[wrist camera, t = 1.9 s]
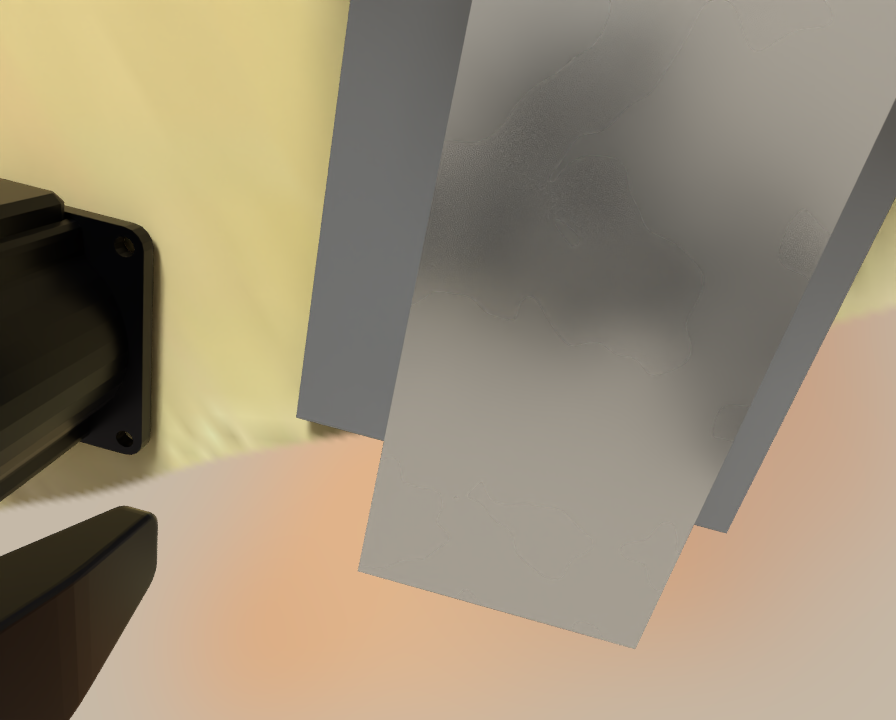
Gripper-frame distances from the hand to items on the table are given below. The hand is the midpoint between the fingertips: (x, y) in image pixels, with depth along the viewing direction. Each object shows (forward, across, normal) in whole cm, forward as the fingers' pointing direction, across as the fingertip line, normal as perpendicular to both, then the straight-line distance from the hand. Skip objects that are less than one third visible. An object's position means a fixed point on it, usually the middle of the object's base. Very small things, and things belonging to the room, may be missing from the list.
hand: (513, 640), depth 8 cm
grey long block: (+8, 0, -5) cm, 9 cm away
